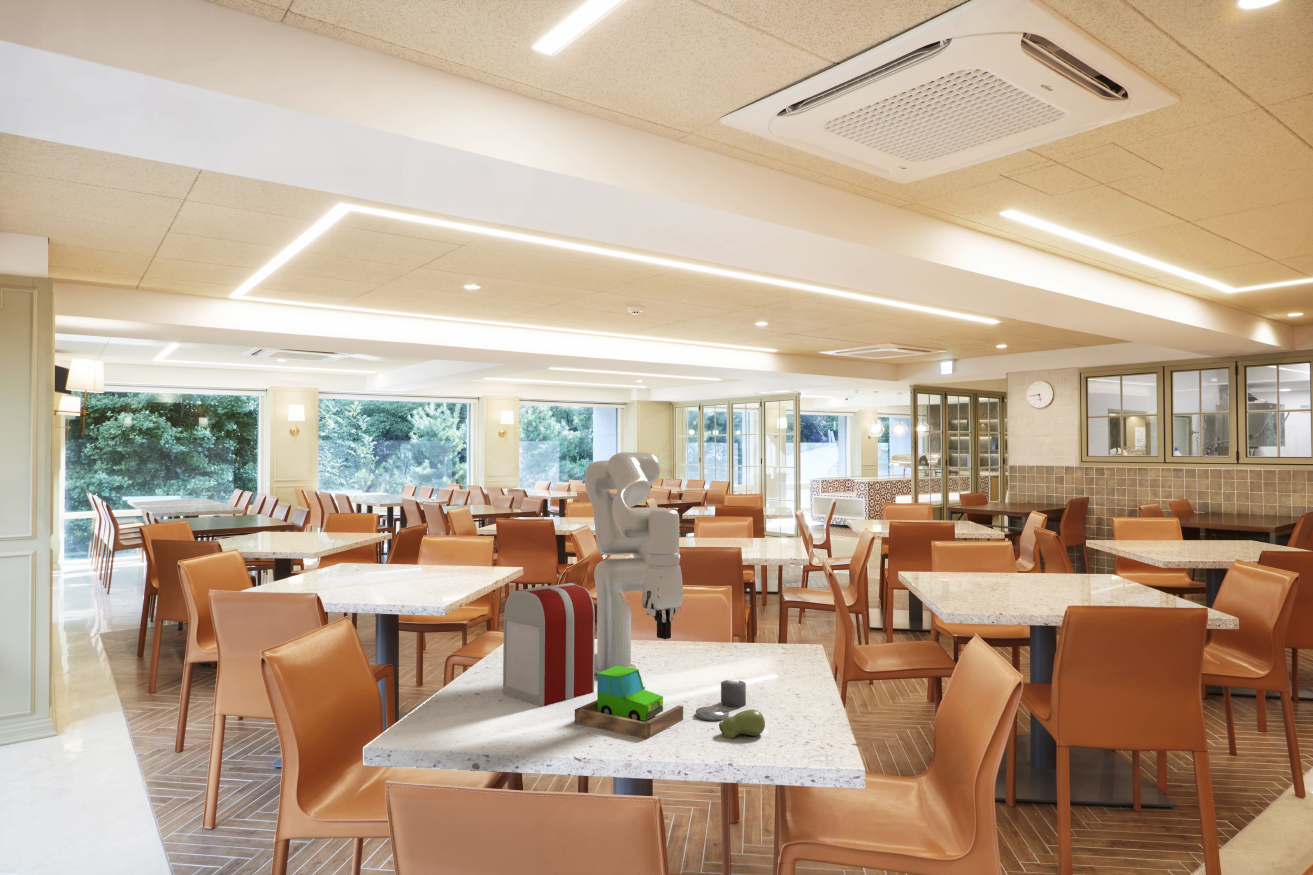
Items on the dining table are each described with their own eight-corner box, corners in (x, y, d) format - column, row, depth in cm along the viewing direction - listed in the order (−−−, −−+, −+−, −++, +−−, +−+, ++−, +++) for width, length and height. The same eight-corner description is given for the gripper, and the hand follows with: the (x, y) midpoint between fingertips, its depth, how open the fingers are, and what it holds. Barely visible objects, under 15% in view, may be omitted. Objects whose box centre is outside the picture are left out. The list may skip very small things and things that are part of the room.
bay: (574, 722, 173) (574, 709, 173) (613, 705, 186) (613, 692, 186) (647, 738, 162) (647, 724, 163) (683, 719, 175) (683, 706, 175)
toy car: (644, 727, 170) (644, 682, 170) (594, 718, 176) (594, 674, 177) (666, 715, 179) (666, 671, 179) (618, 706, 185) (618, 664, 186)
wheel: (716, 705, 186) (716, 681, 187) (727, 698, 192) (727, 676, 192) (739, 709, 183) (738, 685, 184) (749, 702, 188) (749, 679, 189)
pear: (765, 711, 163) (720, 721, 162) (770, 736, 163) (724, 746, 162) (758, 703, 169) (714, 713, 167) (762, 727, 169) (718, 737, 167)
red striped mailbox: (596, 692, 197) (596, 586, 198) (541, 707, 184) (542, 593, 186) (554, 680, 208) (555, 579, 210) (500, 693, 196) (502, 586, 197)
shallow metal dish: (689, 717, 177) (689, 712, 177) (705, 708, 183) (705, 704, 183) (719, 722, 173) (719, 718, 173) (734, 713, 179) (734, 709, 179)
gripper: (673, 557, 193) (673, 631, 192) (630, 562, 182) (630, 640, 181) (696, 559, 188) (696, 635, 187) (653, 564, 177) (653, 645, 176)
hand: (663, 637), depth 184 cm, fingers closed
